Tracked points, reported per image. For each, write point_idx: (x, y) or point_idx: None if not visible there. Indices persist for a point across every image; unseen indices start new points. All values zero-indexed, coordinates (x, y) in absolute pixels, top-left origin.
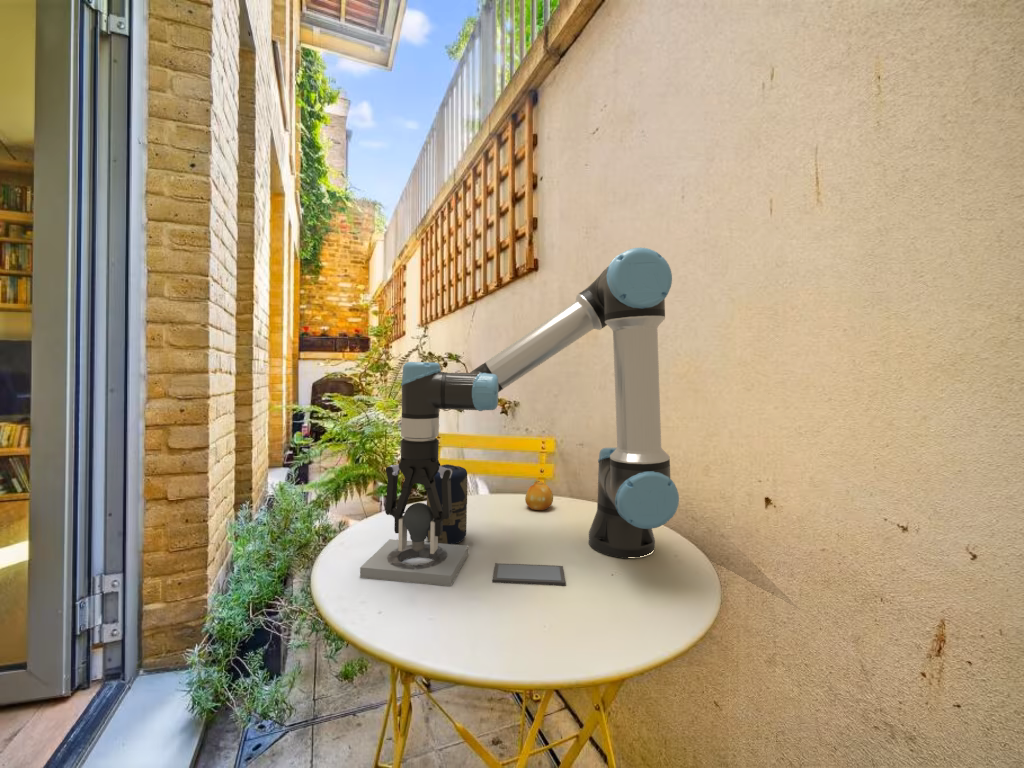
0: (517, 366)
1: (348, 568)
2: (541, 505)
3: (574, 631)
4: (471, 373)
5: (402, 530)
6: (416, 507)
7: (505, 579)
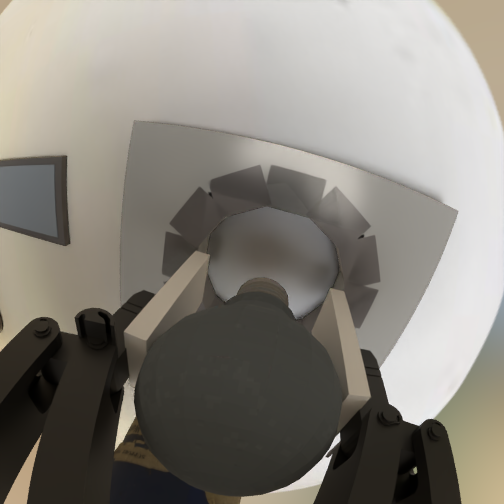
0: None
1: (465, 266)
2: None
3: (12, 38)
4: None
5: (339, 349)
6: (227, 461)
7: (43, 161)
